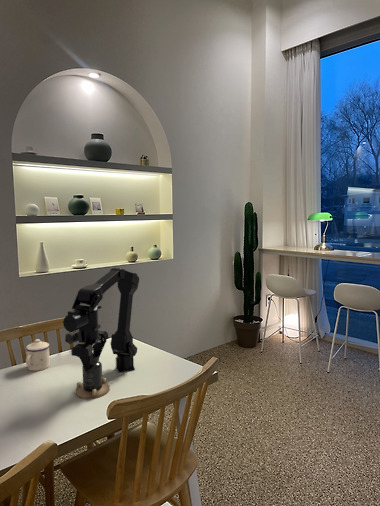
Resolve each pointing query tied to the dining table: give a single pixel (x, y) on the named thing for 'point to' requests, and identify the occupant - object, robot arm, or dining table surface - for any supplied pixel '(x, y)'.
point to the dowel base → (94, 394)
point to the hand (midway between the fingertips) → (91, 365)
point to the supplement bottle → (93, 375)
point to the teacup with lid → (38, 355)
